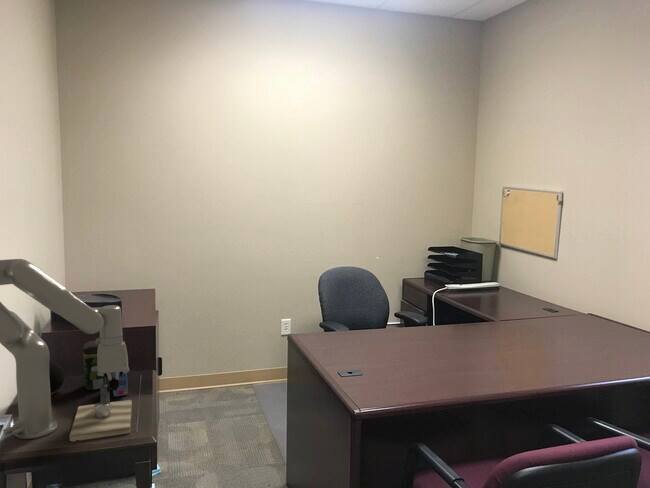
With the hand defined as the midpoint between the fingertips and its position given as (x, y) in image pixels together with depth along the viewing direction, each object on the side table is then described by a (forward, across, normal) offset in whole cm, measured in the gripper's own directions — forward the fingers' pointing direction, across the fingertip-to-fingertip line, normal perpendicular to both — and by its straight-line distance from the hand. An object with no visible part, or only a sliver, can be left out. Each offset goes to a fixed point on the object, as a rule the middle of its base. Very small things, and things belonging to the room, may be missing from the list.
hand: (114, 389), depth 187 cm
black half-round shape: (+8, -26, +19) cm, 33 cm away
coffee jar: (+8, -10, +27) cm, 30 cm away
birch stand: (+8, -3, -9) cm, 12 cm away
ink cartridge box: (+8, 0, +18) cm, 20 cm away
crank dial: (+6, -3, -5) cm, 8 cm away
